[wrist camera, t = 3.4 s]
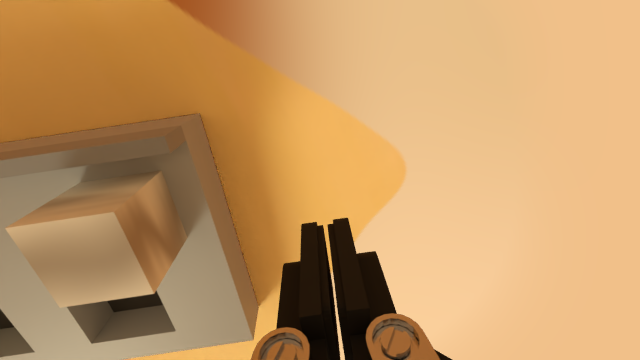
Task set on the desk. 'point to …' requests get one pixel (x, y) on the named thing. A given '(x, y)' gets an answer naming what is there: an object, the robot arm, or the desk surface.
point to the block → (103, 239)
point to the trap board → (180, 280)
